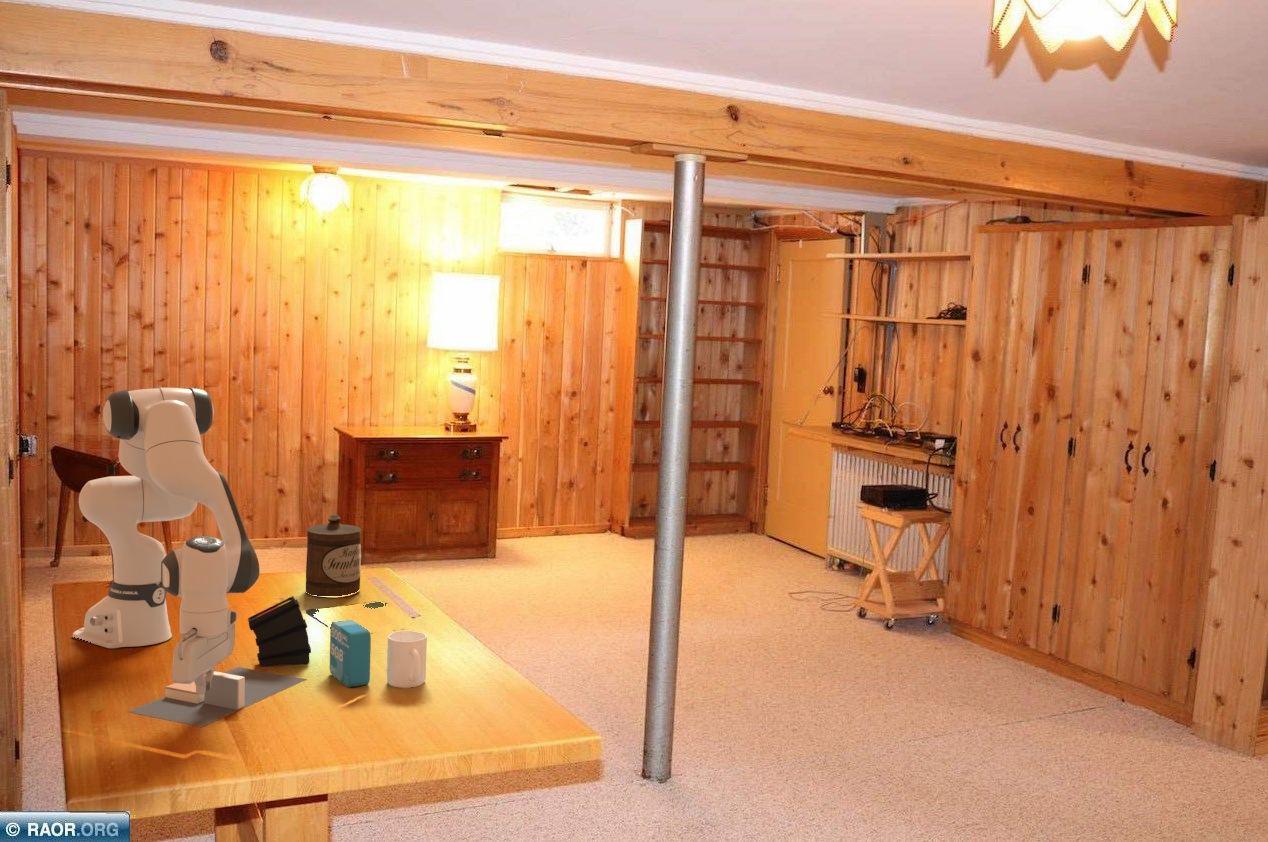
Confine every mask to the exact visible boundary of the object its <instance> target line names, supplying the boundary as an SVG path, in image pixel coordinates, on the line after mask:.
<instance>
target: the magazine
mask: <svg viewBox="0 0 1268 842" xmlns="http://www.w3.org/2000/svg"><path fill="white" fill-rule="evenodd" d="M247 622H248V626H249V627H248V628H249V630H250V631H252V632H253V633H254V636H255V637H256V638H255V640H254V641H255V644H256V646H257V647H258V653H256V654H257V655H256V656H257V662H258V663H259V667H263V666H264V667H276V666H290V665H305V664H307V665H308V664H310V654H311V653H312V647H311V645H310V642H309V641H310V640H309V635H308V630H307V628H308V625H307V621H306V618H304V617H303V612H302V611H301V609H300V604H299V601H298V599H297V598H296V599H295V596H294V595H292V596H290V597H287V598H286V599H284V600H282V601H280V602H277V603H276V604H274V605H272V606H269V607H268V608H265V609H264V610H262V611H260V612H257V613H256V614H254V615H252V616H249V617H248V618H247Z"/></svg>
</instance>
